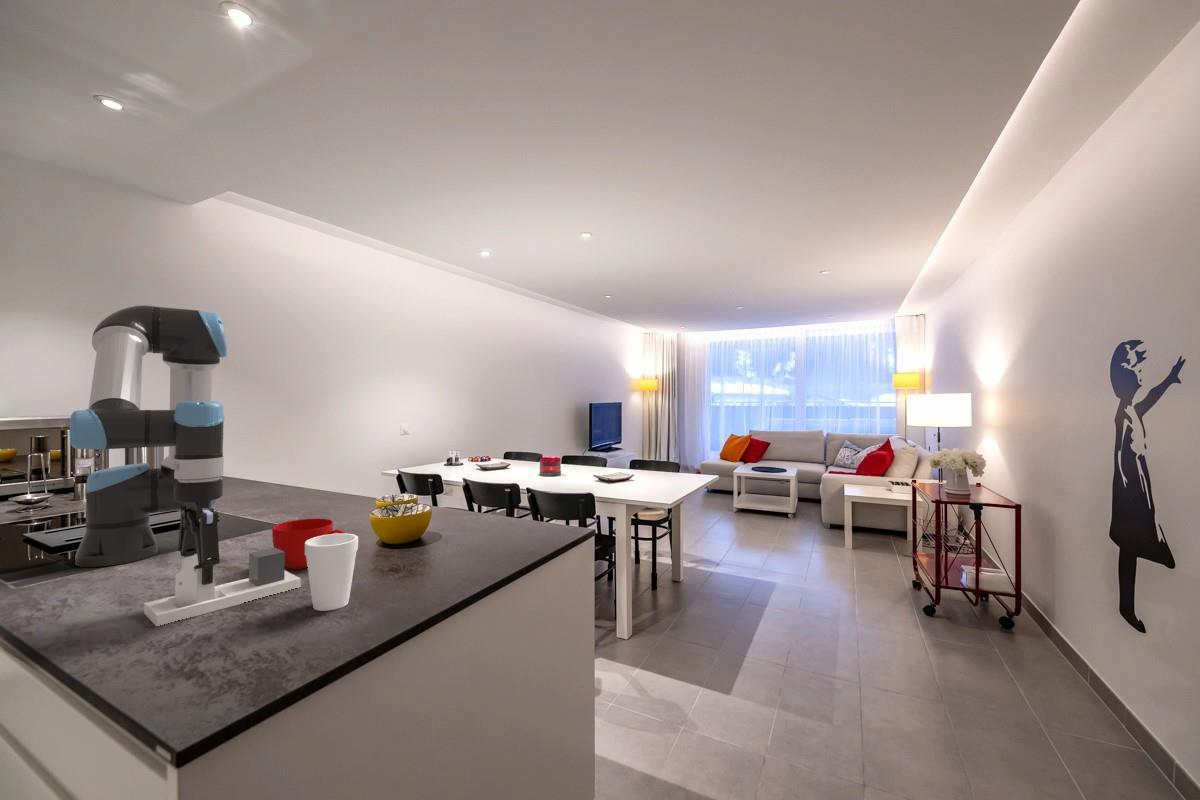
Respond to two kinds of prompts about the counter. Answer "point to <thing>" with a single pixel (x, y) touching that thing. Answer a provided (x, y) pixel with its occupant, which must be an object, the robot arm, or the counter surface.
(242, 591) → the white slotted base plate
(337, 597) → the foam cup
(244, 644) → the counter surface
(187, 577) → the white angled block
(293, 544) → the ceramic cup
